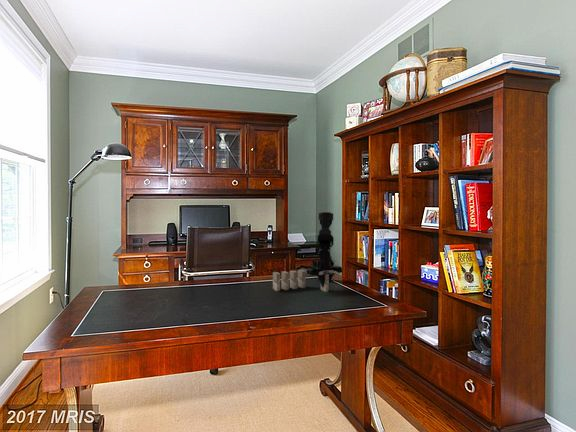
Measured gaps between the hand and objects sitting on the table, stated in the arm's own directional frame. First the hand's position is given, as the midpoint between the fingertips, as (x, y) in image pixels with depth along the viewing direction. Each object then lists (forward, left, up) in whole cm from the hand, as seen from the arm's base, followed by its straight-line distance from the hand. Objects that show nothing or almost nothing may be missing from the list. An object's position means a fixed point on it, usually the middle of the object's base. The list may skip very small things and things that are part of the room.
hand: (324, 286), depth 200 cm
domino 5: (0, 0, -2) cm, 2 cm away
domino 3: (+12, -12, -2) cm, 17 cm away
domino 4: (+7, -12, -2) cm, 14 cm away
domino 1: (+22, -12, -2) cm, 25 cm away
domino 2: (+17, -12, -2) cm, 21 cm away
